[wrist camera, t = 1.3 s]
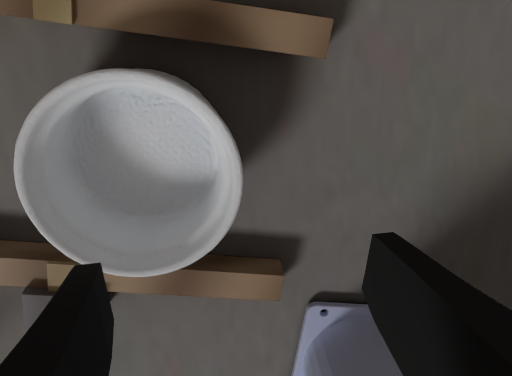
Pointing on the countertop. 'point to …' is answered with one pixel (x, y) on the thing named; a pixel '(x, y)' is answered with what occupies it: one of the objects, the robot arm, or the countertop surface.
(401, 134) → the countertop surface
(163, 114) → the ramekin
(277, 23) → the brown flat frame
